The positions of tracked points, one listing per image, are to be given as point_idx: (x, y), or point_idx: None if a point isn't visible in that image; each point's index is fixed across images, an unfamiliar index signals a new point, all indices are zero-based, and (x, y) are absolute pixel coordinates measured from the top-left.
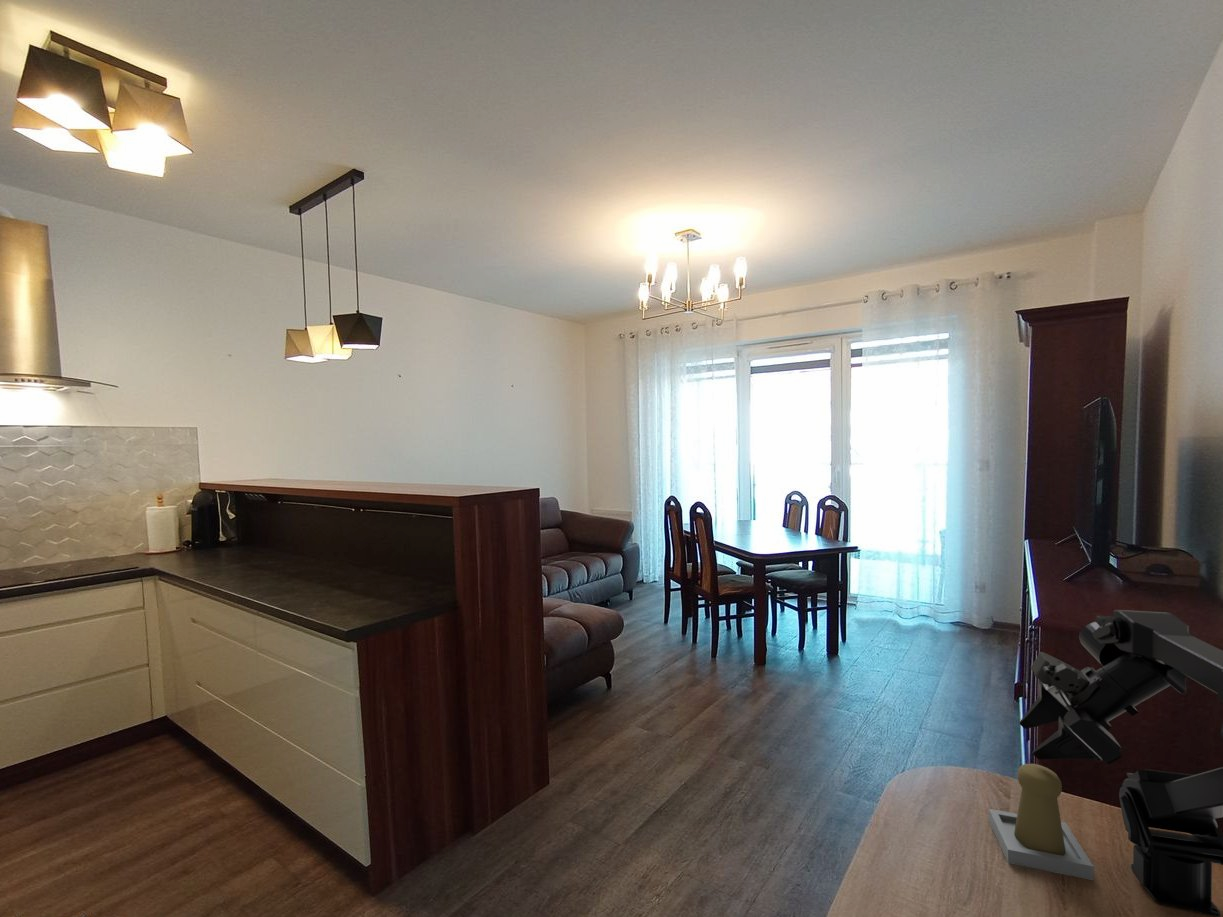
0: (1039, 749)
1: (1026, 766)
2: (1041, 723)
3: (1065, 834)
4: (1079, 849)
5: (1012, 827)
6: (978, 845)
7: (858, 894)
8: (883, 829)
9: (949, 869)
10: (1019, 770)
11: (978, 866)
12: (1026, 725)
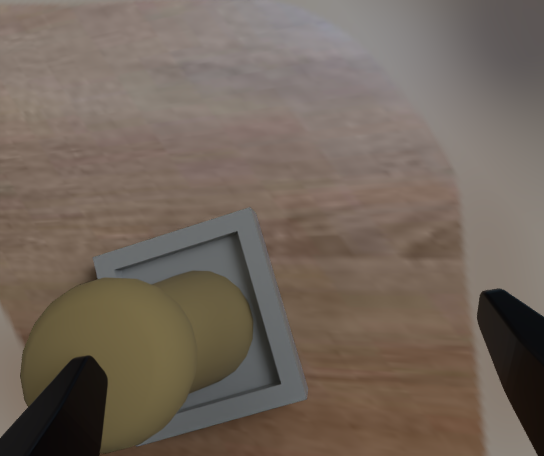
0: (31, 405)
1: (91, 316)
2: (536, 446)
3: (246, 393)
4: (190, 421)
5: (223, 266)
6: (139, 198)
7: None
8: (81, 11)
9: (24, 152)
10: (87, 285)
11: (65, 203)
12: (491, 333)
